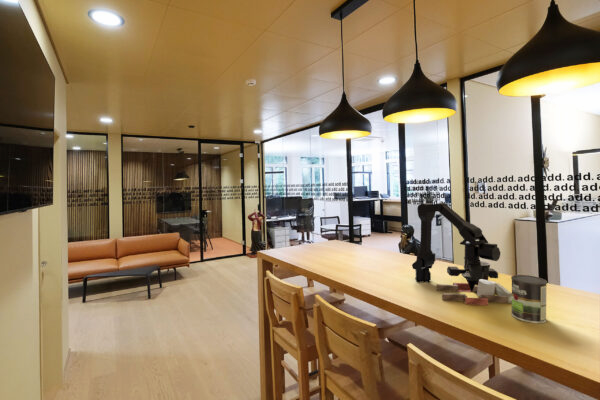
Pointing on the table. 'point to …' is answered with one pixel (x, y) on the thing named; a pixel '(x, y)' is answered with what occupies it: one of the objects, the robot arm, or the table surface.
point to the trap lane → (464, 287)
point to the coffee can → (529, 298)
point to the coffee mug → (484, 275)
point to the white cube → (485, 287)
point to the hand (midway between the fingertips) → (471, 291)
